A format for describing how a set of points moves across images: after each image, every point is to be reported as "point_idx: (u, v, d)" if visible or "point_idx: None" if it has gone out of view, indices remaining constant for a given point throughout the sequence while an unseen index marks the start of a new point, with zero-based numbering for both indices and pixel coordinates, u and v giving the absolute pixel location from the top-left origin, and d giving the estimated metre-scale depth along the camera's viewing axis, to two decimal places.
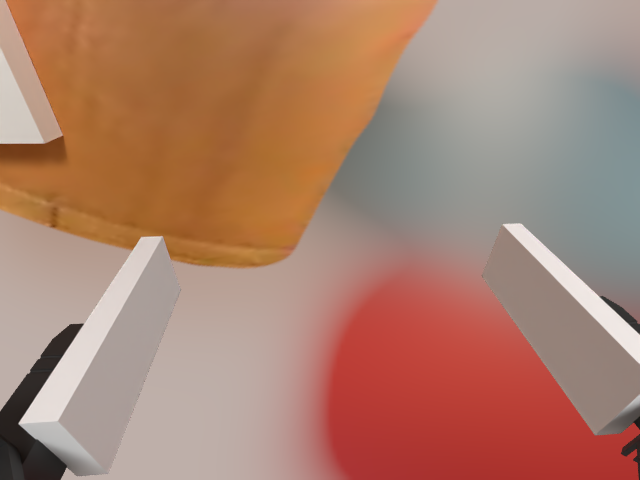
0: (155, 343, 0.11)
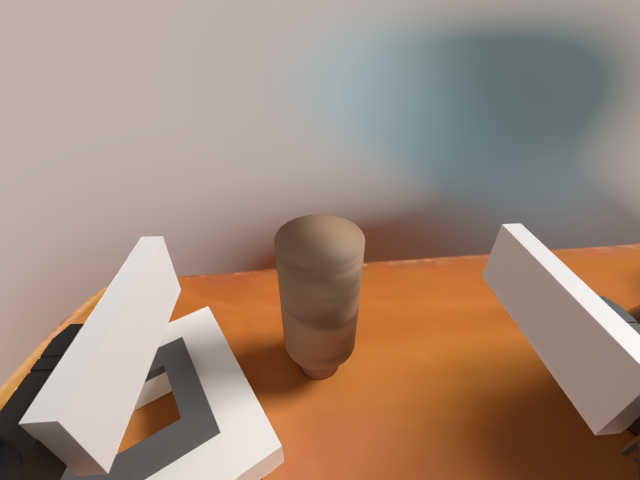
0: (155, 343, 0.11)
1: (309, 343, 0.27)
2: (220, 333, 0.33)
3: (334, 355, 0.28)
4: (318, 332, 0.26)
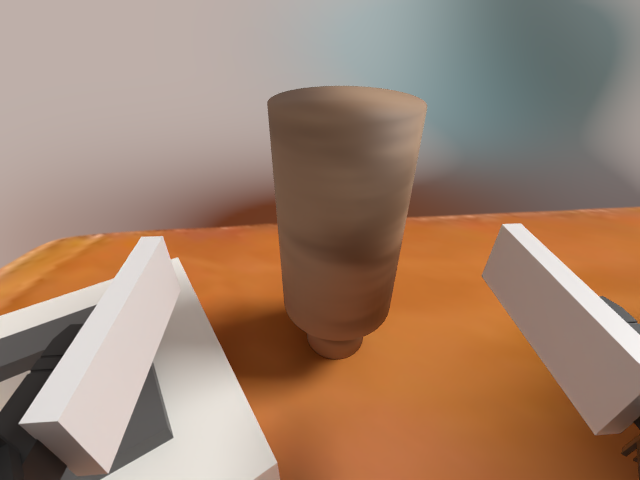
0: (155, 343, 0.11)
1: (323, 292, 0.16)
2: (191, 290, 0.22)
3: (363, 315, 0.17)
4: (340, 271, 0.15)
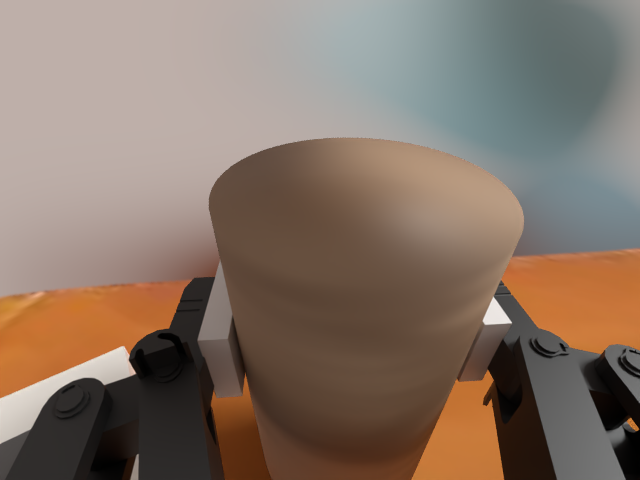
0: None
1: None
2: None
3: None
4: (349, 470, 0.09)
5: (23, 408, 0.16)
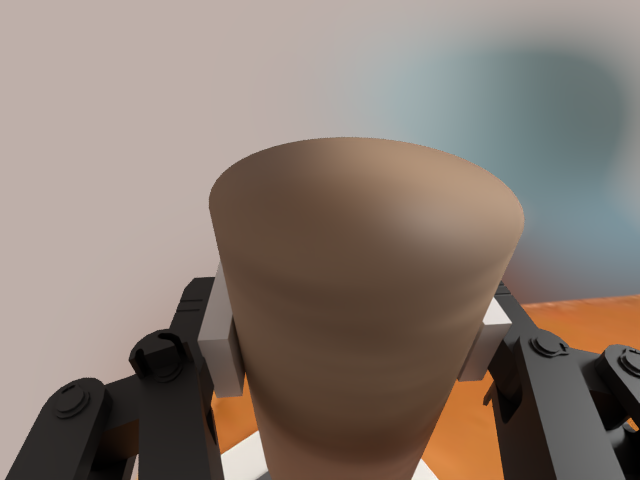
0: None
1: None
2: None
3: None
4: (349, 470, 0.09)
5: None
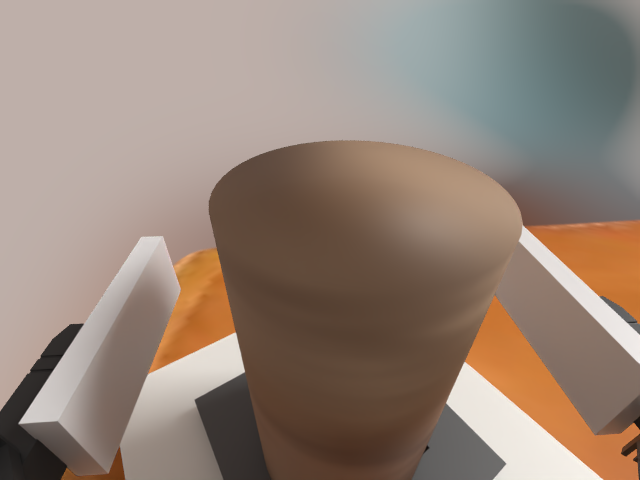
0: (155, 343, 0.11)
1: None
2: None
3: None
4: (349, 473, 0.09)
5: None
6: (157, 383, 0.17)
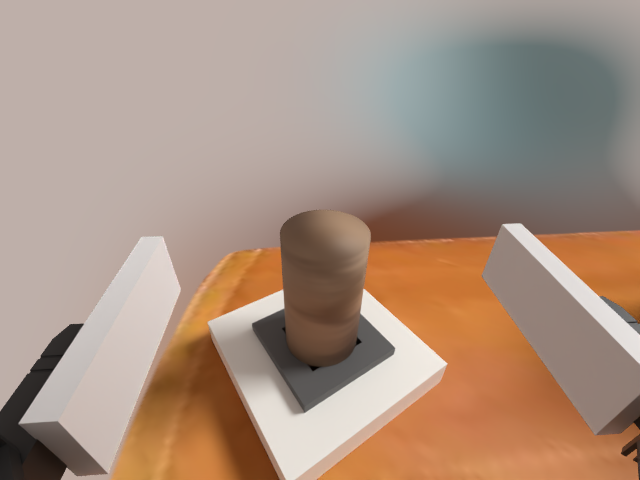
0: (155, 343, 0.11)
1: (311, 338, 0.26)
2: None
3: (336, 351, 0.28)
4: (321, 327, 0.25)
5: None
6: (229, 318, 0.34)
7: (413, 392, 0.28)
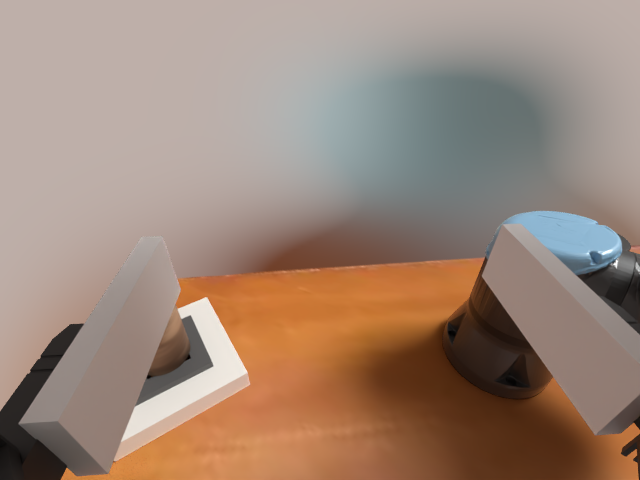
0: (155, 343, 0.11)
1: None
2: (214, 313, 0.52)
3: (161, 366, 0.41)
4: None
5: (180, 313, 0.52)
6: None
7: (216, 392, 0.42)
